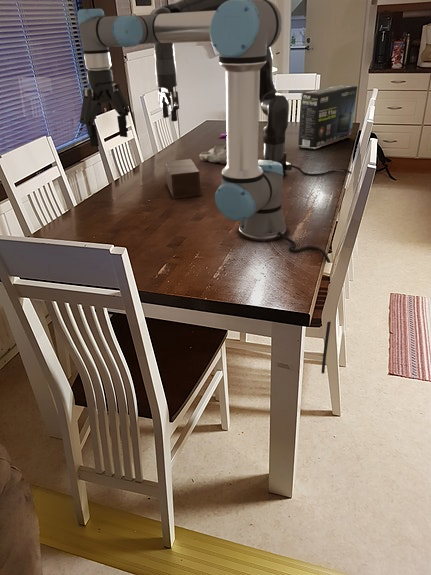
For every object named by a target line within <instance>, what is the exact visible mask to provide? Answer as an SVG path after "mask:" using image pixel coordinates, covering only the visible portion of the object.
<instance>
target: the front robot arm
mask: <svg viewBox="0 0 431 575" xmlns="http://www.w3.org/2000/svg"><path fill="white" fill-rule="evenodd" d="M104 11H105V10H103V8H83V9H79V10H78V11H77V22H78V30H79V35H80V40H81V47H82V52H83V58H84V59H83V60H84V64H85V68H86V69H87V70H86V77H87V83H88V84H89V85H90V88H83V89H82V97H83V98H82V103H81V104H82V105H81V110H80V111H81V112H80V118H79V123H80V124H82V125H84V126H86V132H87V136H88V137H89V142H90V146H91V147H96V148H98V147H100V143H99V138H98V131H97V124H95V120H96V117H97V114H98V111H99V109H100V106H101V105H102V104H103V103H106V102H107V103H109V104H110V105H111V107H112V108H113V109H114V110H115V112H116V113H117V114H118V115H117V116H116V118H117V124H118V132H119V137H120V138H121V137H123V138H128V137H129V136H128V130H127V126H128V122H127V117H128V116H129V113H130V112H131V110H130V107H129V106H128V103H127V100H126V99H125V96H124V95H123V92H122V91H121V90H122V89H121V85H120V83H114V75H113V70H112V69H111V67H112V61H111V54H110V48H111V47H113V48H114V47H115V48H118V47H119V48H121V47H122V48H132V47H137V46H140V45H149V44H150V45H151V44H154V43H173V44H187V43H189V44H191V43H192V44H193V43H211V44H212V46H213V47H214V48H215V50H216V52H217V53H218V62H219V63H218V64H219V65H220V66H221V67H222V68H223V70H224V71H225V119H226V120H225V122H226V123H225V124H226V126H225V127H226V134H227V137H226V147H227V162H226V165H225V166H224V167H223V168H222V170H221V184H220V185H219V186H218V188H217V189H216V191H215V194H214V202H215V206H216V208H217V210H218V211H219V213H221V214H222V216H223V217H224V218H226V219H228V220H230V221H232V222H239V223H238V232H239V235H240V236H241V237H242V238H244V239H247V240H250V241H254V242H271V241H277V240H279V239H281V238H283V239H284V240H285V241H287V242H288V243H290V244H291V246H290V247H289V249H288V250H289V251H290V252H291V253H300V252H303V251H306V250H313V251H314V250H315V251H319V252H320V253H321V254H322V255H323V258H324V259H325V261H326V263H328V264H331V259H330V258H329V255H328V254H327V253H326V251H325V250H324V249H323V248H321V247H319V246H317V245H305V246H302V247H300V248H296V246H297V243H296V242H295V241H294V240H293V239H291V238H290V237H288V236H286V234H287V223H286V221H285V216H284V214H283V210H282V200H283V183H284V175H283V167H282V165H281V164H280V163H278V162H275V161H270V160H263V159H259V130H260V129H259V128H260V101H259V88H260V69H261V68H262V66H263V65H264V64H265V63H266V51H267V49H268V48H271V47H272V46H274V45H275V44H276V43H277V41H278V40H279V38H280V35H281V33H282V28H283V18H282V14H281V11H280V9H279V8H278V7H277V5H276V4H275V3H274V2H272V1H271V0H228V1H226V2H224V3H223V4H222V5H220V6H219V8H218V9H217V10H216V11H201V12H185V13H168V14H151V13H149V14H133V15H130V14H129V15H128V14H122V15H113V16H106V15H105V12H104ZM330 330H331V320H330V321H327V323H326V331H325V337H324V345H323V354H322V362H321V363H322V364H321V374H325V372H326V371H325V370H326V360H327V352H328V346H329V338H330V332H331V331H330Z"/></svg>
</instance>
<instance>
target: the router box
mask: <svg viewBox="0 0 431 575" xmlns="http://www.w3.org/2000/svg"><path fill="white" fill-rule="evenodd" d="M357 93H358V86H356V85H350V84H339V85H338V84H337V85H334V86H328V87H324V88H318V89H314V90H309V91H304V92H301V93H300V109H299V110H300V111H299V124H298V137H297V146H298V145H302V146H307V147H317V146H320V145H323V144H325V143H328V142H331V141H333V140H336V139H338V138H341V137H344V136H347V135H351V136H352V133H353V132H352V131H353V125H354V115H355V109H356V99H357ZM311 151H313V150H312V149H311Z"/></svg>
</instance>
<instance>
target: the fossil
mask: <svg viewBox="0 0 431 575" xmlns="http://www.w3.org/2000/svg"><path fill="white" fill-rule="evenodd" d="M199 158H200V160H201V161H203V162H207V161H208V162H210V163H220V165H225V164H227V145H224V144H221V143H220V144H219V143H216V144H215V145H214V147H212V148H210V149H209V150H208V151H202V152H201V153H200V154H199Z"/></svg>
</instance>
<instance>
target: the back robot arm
mask: <svg viewBox="0 0 431 575" xmlns="http://www.w3.org/2000/svg"><path fill="white" fill-rule="evenodd" d="M226 1H228V0H178V1H176V2H173V3H170V4H169V3H168V4H166V5H162V6H158V7H156V8H154V9H152V11H151V12H150V14H168V13H185V12H201V11H216V10H217V9H218V8H219V6H220V5H222V4H223V3H224V2H226ZM153 53H154V54H153V56H154V70H155V73H154V74H155V82H156V87H157V95H158V96H157V97H158V105H159V106H160V108H161V112H162V113H161V114H162V118H163V119H167V118H169V116H170V121H171V122H177V121H178V112H177V111H178V110H180V103H179V93H178V91H176V90H175V89H174V88H176V87H177V86H178V75H177V74H178V73H177V64H176V59H175V46H174V43H153ZM273 58H274V57H273V53H272V48H271V47H270V48H268V49H267V51H266V63H265V64H264V65H263V66H262V68H261V69H260V88H259V107H260V109H261V111H262V113H263V114H264V115H265V116H267V121H266V122H267V123H266V126H264V127H263V130H262V160H270V161H275V162H278V163H280V164H281V165H282V167H283V176H286V175H287V174H286V173H287V171H292V169H293V168H294V169H296V170H298V171H299V172H300V173H301V174H302V175H305V176H310V177H311V176H313V177H317V176H325V175H327V174H331V173H338V172H340V171H335V170H336V169H333V170H328V171H325V172H319V173H318V172H317V173H308V172H305V171H303V170H302V169H301V167H298V166H296V165H293V163H291V162H288V161H287V152H285V150H286V131H287V129H288V125H289V114H290V103H289V100H288V98H287V97H286V96H285V95H283V94H282V93H281V94H280V93H278V90H277V89H276V85H275V82H274V78H273V65H274V59H273ZM169 110H170V111H169ZM169 112H170V113H169ZM339 169H340V170H344V171H343V172H347V173H348V174H350V175H351V174H353V172H351V171H350V170H349V169H346V168H339Z"/></svg>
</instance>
